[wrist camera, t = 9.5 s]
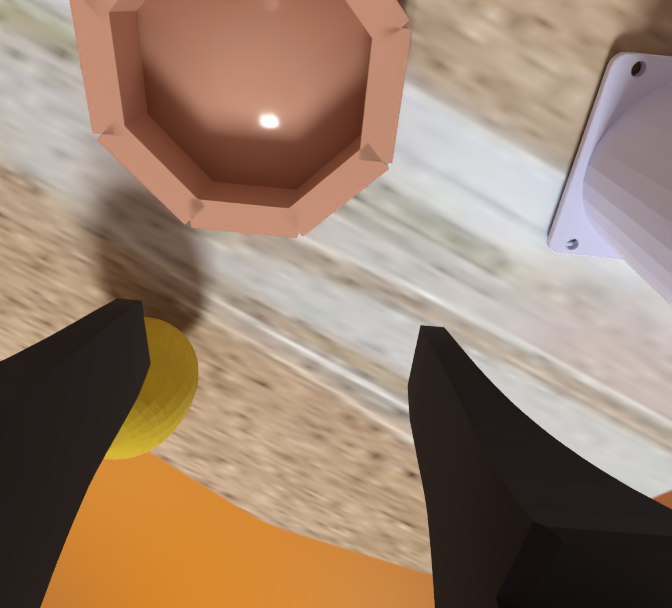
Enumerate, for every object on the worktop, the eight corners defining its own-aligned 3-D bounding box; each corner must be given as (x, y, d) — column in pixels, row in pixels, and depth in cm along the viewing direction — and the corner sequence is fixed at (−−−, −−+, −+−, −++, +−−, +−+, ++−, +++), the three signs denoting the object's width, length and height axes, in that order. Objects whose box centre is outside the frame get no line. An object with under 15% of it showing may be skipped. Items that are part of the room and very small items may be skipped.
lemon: (89, 317, 25) (-11, 431, 18) (167, 269, 24) (88, 376, 17) (161, 387, 28) (95, 511, 21) (237, 348, 26) (192, 470, 19)
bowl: (424, -93, 16) (435, -112, 13) (380, 220, 22) (381, 249, 19) (91, -127, 16) (39, -153, 13) (136, 196, 22) (105, 221, 19)
